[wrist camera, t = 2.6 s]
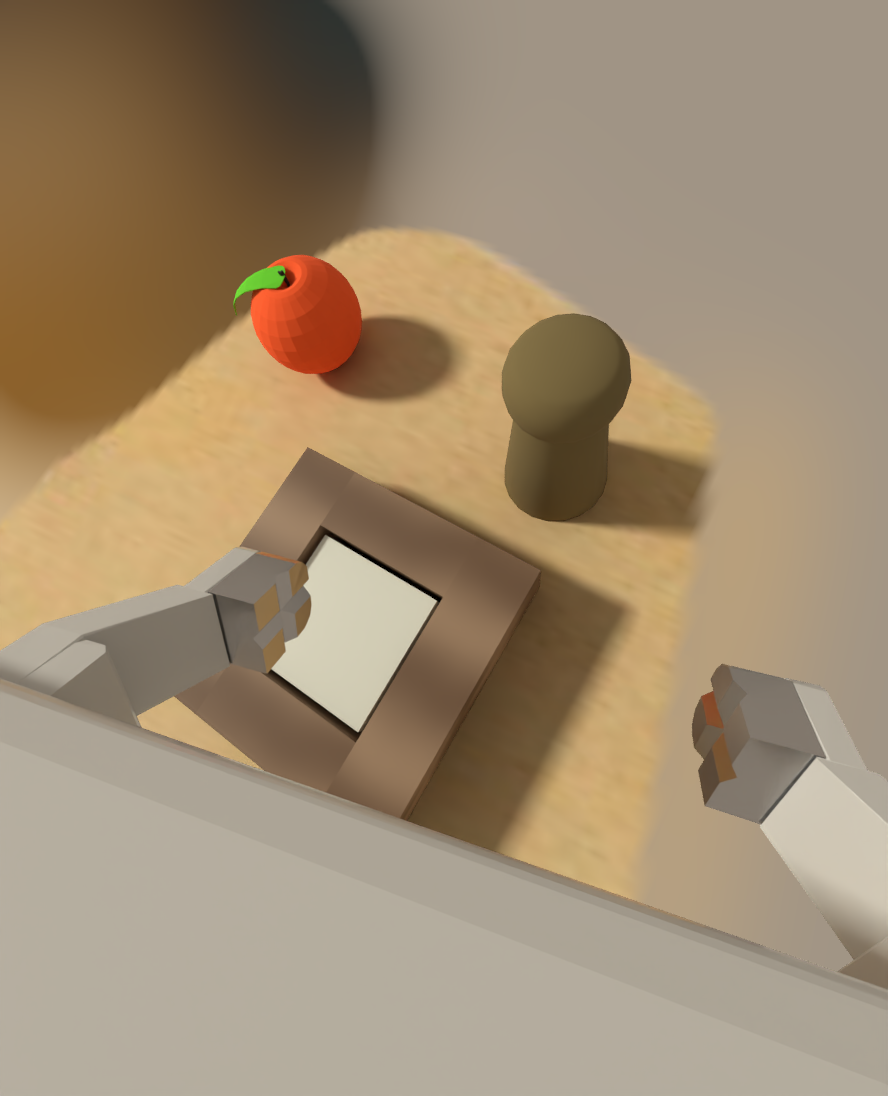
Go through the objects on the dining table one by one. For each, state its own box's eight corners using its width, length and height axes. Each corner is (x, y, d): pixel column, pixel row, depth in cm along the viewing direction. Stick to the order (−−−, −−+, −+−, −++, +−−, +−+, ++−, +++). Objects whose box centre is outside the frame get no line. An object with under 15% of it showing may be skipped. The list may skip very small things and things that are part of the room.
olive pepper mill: (624, 451, 28) (678, 313, 18) (579, 538, 27) (608, 446, 17) (531, 415, 30) (531, 270, 19) (486, 495, 29) (460, 389, 18)
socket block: (399, 833, 24) (375, 861, 21) (200, 677, 29) (150, 676, 25) (539, 586, 27) (540, 570, 23) (335, 476, 31) (307, 447, 27)
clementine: (266, 401, 34) (200, 331, 27) (276, 321, 36) (217, 237, 29) (373, 389, 32) (331, 312, 26) (377, 307, 34) (339, 215, 28)
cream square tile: (365, 730, 24) (358, 732, 23) (258, 653, 26) (248, 652, 25) (440, 603, 25) (437, 600, 24) (332, 539, 27) (325, 534, 26)
